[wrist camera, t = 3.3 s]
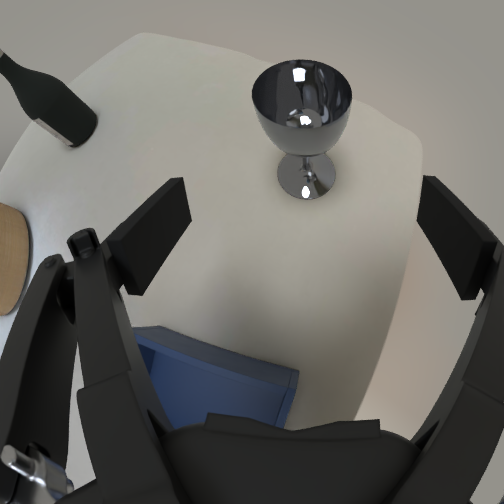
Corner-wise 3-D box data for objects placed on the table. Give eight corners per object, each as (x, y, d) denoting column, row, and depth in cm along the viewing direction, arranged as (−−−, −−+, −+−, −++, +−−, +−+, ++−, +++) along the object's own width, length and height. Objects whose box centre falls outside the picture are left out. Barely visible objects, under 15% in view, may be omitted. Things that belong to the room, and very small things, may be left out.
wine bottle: (70, 156, 44) (-44, 74, 15) (66, 131, 46) (-32, 54, 17) (101, 129, 43) (-9, 29, 14) (95, 106, 45) (2, 15, 16)
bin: (299, 370, 30) (296, 389, 22) (263, 471, 28) (250, 506, 20) (159, 325, 34) (122, 327, 26) (138, 422, 32) (104, 441, 24)
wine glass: (342, 152, 34) (355, 67, 19) (332, 208, 33) (347, 138, 18) (281, 141, 36) (264, 56, 21) (267, 195, 35) (239, 122, 20)
